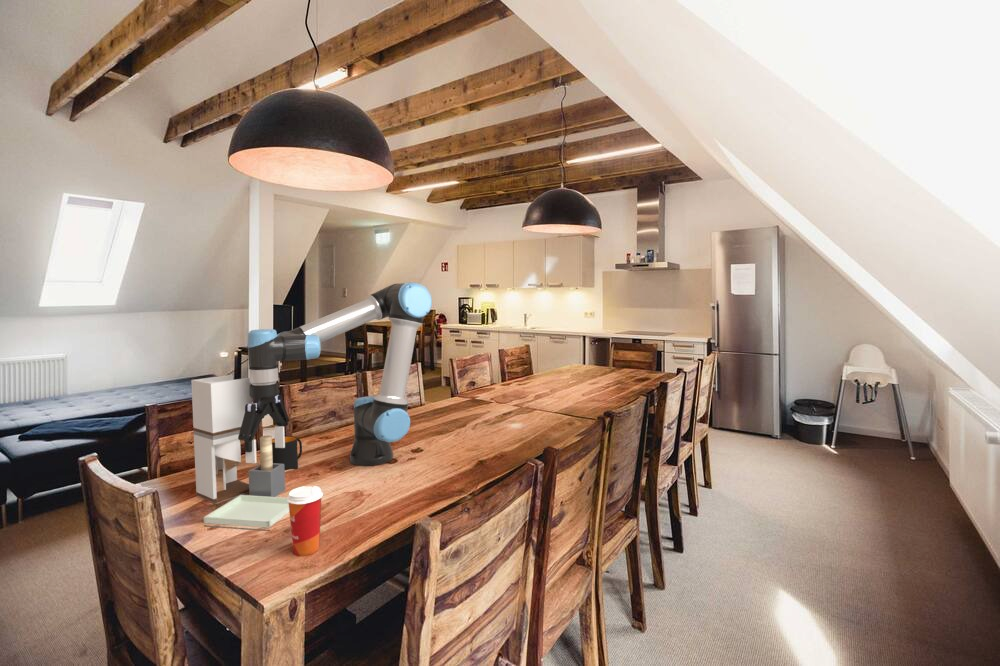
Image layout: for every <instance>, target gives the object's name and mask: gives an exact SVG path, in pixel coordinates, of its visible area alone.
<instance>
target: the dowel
mask: <svg viewBox="0 0 1000 666" xmlns="http://www.w3.org/2000/svg"><path fill="white" fill-rule="evenodd" d="M272 439H273V436H272V435H262V436H260V437H259V455H260V456H259V457H260V459H259V461H260V463H259V464H261V470H262V471H270V470H272V469H273V456H272Z"/></svg>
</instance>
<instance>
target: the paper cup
mask: <svg viewBox="0 0 1000 666" xmlns="http://www.w3.org/2000/svg"><path fill="white" fill-rule="evenodd" d="M323 495H324V494H323V491H322V490H321V487H319V486H316V485H314V486H312V485H307V486H305V485H304V486H299V487H297V488H293V489H292V490H290V491H289V493H288V496H287V497H286V498H287V501H288V502H289V521H290V532H291V544H292V550H293V554H294V555H295V556H297V557H307V556H311V555H313V554H315V553H316V552H317V551H319V549H320V541H321V540H320V539H321V522H322V521H321V519H322V518H321V517H322V515H321V514H322V513H321V512H322V511H321V510H322V497H323Z"/></svg>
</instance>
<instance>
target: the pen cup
mask: <svg viewBox="0 0 1000 666" xmlns="http://www.w3.org/2000/svg"><path fill="white" fill-rule="evenodd" d="M285 471H286V470H285V469H284V464H278V463H273V469H272V470H270V471H262V470H261V463H259V464H258V465H256V466H255V467H253V468H251V469H250V470H248V484H249V492H248V493H249V494H248V495H251V496H267V497H278V496H279V495H280V494H282V493H283V492H284V491H286V479H285V478H286V475H285Z"/></svg>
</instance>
